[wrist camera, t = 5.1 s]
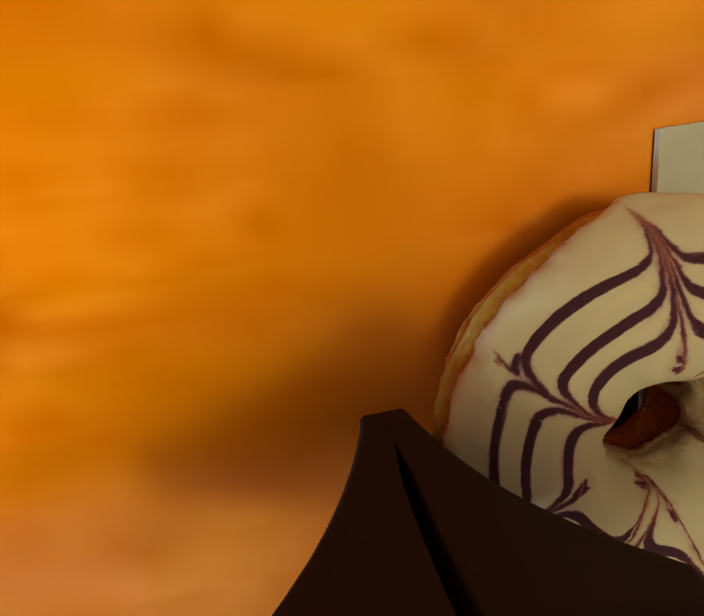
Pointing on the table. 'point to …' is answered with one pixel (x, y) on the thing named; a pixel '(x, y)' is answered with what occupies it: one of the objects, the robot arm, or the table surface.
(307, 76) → the table surface
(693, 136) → the placemat
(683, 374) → the decorated donut
